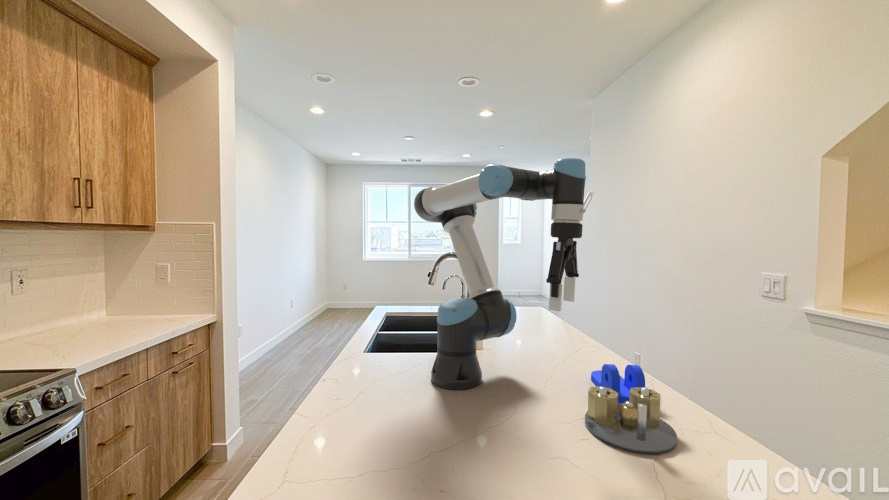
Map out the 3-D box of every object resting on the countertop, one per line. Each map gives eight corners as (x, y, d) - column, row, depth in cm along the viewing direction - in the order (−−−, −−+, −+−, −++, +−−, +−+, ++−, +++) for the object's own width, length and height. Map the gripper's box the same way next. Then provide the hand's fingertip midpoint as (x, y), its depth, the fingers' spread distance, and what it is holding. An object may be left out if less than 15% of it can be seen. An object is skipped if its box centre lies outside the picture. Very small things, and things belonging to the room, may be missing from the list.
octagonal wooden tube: (586, 419, 81) (586, 393, 81) (591, 408, 86) (591, 384, 86) (615, 427, 78) (616, 400, 77) (618, 415, 83) (619, 390, 82)
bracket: (644, 405, 91) (645, 370, 91) (611, 404, 91) (612, 369, 91) (614, 377, 109) (615, 348, 109) (586, 376, 109) (587, 347, 109)
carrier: (577, 436, 76) (578, 398, 76) (592, 403, 91) (593, 372, 91) (677, 466, 67) (679, 423, 66) (676, 423, 82) (677, 388, 81)
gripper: (570, 221, 77) (564, 317, 78) (591, 223, 98) (587, 299, 99) (536, 220, 81) (531, 312, 82) (564, 222, 102) (560, 295, 103)
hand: (562, 305), depth 91 cm, fingers open, 13 cm apart
